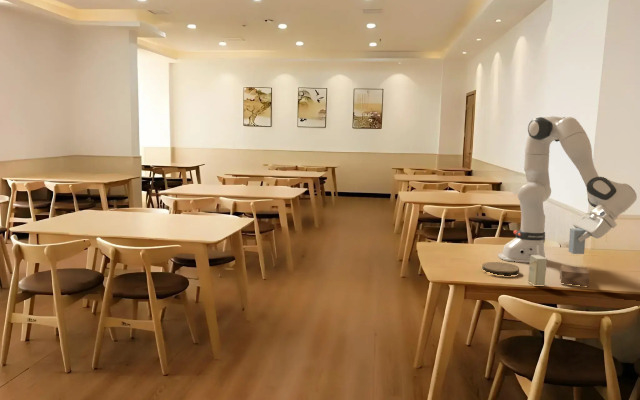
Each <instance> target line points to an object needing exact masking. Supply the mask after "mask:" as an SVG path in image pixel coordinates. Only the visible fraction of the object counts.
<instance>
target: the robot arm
mask: <svg viewBox="0 0 640 400" xmlns="http://www.w3.org/2000/svg"><path fill="white" fill-rule="evenodd" d="M527 132H528V136H527V139H526V142H525V149H524V162H523V163H524V167H523V170H524V173H525V178H526V183H525V184H523V185H522V186H520V188H519V189H518V192H517V198H518V201H519V206H520V215H521V216H520V229H519V230H516V229H515V230H513V234H514V235H515V237H514V238H513V239H511V240H510V241H508V242H507V243H505V244H504V247H503V251H502V252H499V253H498V254H497V255H498V258H499V259H501V260H502V259H503V261H506V262H514V261H515V263H516V262H517V263H518V262H519V263H529V264H530V255H540V256H542V257H544V258H546V253H545V242H546V232H545V223H546V214H545V213H544V202H546V201H548V200H549V198H550V196H551V193H552V188H551V183H550V174H549V173H550V172H549V169H550V168H549V166H550V165H549V164H550V148H551V144H552V143H553V142H556V143H557V142H559V143H560V145H561V147H562V150H564V152H565V154H566V155H567V157H568V158H569V159H570V161H571V162H572V163H573V165H574V166H575V168H576V169H577V170H578V172H579V175H580V176H581V179H582V180H583V183H584V185H585V187H586V195H587V201H588V204H589V205H590V206H591V207H593V209H591V210H590V211H589V213H585V214H583V215H582V216H580V217H579V218H578V219H576V220H575V221H574V222H573V223H572V226H573V228H578V229H582V230H585V231H586V232H585V233H584V234H583V235H582V236H579V237H578V238H577V240H578V241H580V242H582V241H583V240H584V239H585V240H587V239H589V238H590V237H593V238H595V239H601V237H603V236H605V235H606V234H607V233H608V232H609V231H610V230H611V229H614V228H615V227H616V226H617V223H616V219H618V217H619V216H620V215H621V214H623V213H625V212H626V211H627V210H629V208H630V207H632V205H633V204H634V203H636V201H637V198H638V196H637V192H636V190H635V189H634V188H632V186H630V184H628V183H621V182H620V183H618V182H615V181H612V180H610V179H608V178H606V177H604V176H599V173H598V172H597V170H596V167H595V165H594V164H595V163H594V160H593V150H592V145H591V142H590V138H589V136H588V134H587V132H586V130H585V129H584V127H583V126H582V125H581V123H580V122H579V121H578V120H577V119H576V117H572V116H567V117H565V116H561V117H560V116H545V117H542V116H540V117H535V118H533V119H531V121H530V122H529V123H528V125H527Z"/></svg>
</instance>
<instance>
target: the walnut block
mask: <svg viewBox="0 0 640 400" xmlns="http://www.w3.org/2000/svg"><path fill="white" fill-rule="evenodd" d="M559 271H560V272H559V280H560V279H561V281H560V284H561V283H564V284H572V285H580V286H588V287H589V279H590V273H589V270H588V269H587V267H583V266H582V267H581V266H571V265H562V264H561V265H560V270H559Z"/></svg>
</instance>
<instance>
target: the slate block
mask: <svg viewBox="0 0 640 400" xmlns="http://www.w3.org/2000/svg"><path fill="white" fill-rule="evenodd" d="M585 232H586V231H585V230H582V229H578V228H575V227H573V228H571V227H570V228H569V238H568V239H569V240H568V252H569V253H570V254H573V255H585V247H586V246H585V245H586V239H584V240H583V241H582V242H580V241H578V240H577V238H578V237H579V236H582V235H583V234H584V233H585Z"/></svg>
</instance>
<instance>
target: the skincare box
mask: <svg viewBox="0 0 640 400" xmlns="http://www.w3.org/2000/svg"><path fill="white" fill-rule="evenodd" d="M547 263H548V259H547V258H546V257H545V258H544V257H542V256H540V255H530V263H529V265H528V277H527V282H528V281H529V282H531V283H532V284H534V285H544V286H545V283H546V274H547V273H546V272H547Z"/></svg>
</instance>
